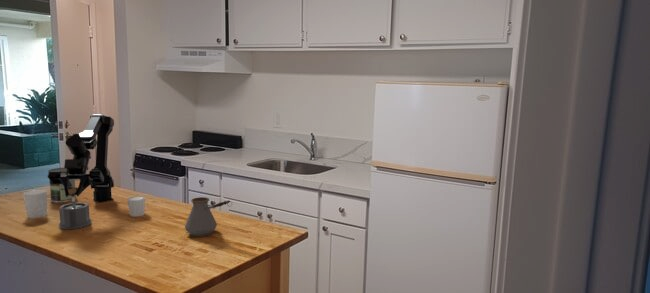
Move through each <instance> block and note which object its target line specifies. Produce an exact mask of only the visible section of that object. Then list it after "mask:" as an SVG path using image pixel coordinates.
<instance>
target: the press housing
mask: <svg viewBox="0 0 650 293" xmlns="http://www.w3.org/2000/svg"><path fill="white" fill-rule="evenodd" d="M75 205H82V206H84V207H81V208H76V209H64V208H66V207H69V206H73V205H72V202H71V203H67V204H63V205H61V206H60V207H59V209H58V210H59V223H58V228H59V229H61V230H65V231H66V230H68V231H69V230H70V231H71V230H80V229H83V228H86V226H87V227H89V226H91V224H92V219H91V216H90V204H89V203H86V202H75Z"/></svg>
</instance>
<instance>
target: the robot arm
mask: <svg viewBox="0 0 650 293" xmlns="http://www.w3.org/2000/svg"><path fill="white" fill-rule="evenodd" d="M114 126H115V121H114V118H113V117H111V116H107V115H104V114H101V113H99V114H95V113H94V114H91V115H90V117H89V120H88V122H87V125H86V127H85V129H84V130H83V131H82V132H79V133H73V134H72V136H70V137H68V138H67V139H66V140H65V146H66V147H67V148H68V150H69V152H70V154H71V155H73V158H71V159H70V158H68V159H67V158H66V159H64V167H63V168H67V172H69V174H67V173H61V171H51V172H49V173H48V174H47V179H49V180H50V181H51V182H52V184H62V185H64V189H65V195H66V197H68V188H71V183H70V180H75V181H76V180H79V183H78V187H77V188H78V190H77V194H76V197H79V196H80V195H81V194H82V193H83V192H84V191H85V190H86V189H87V188H88V187H89V186H90V188H91V190H93V200H92V201H95V202H97V203H105V202H110V201H114V198H112V188H114V187H115V182H114V181H115V180H114V179H113V177H112V175H111V171H110V169H109V168H108V153H109V152H108V150H109V136H110V134H111V133H112V132H113V129H114V128H113V127H114ZM95 148H96V149H95ZM90 150H96V151H95V166H94V167H93V168H91V170H89V162H90V160H91V159H92V156H91V151H90ZM88 170H89V171H88ZM87 171H88V172H89V173H87Z"/></svg>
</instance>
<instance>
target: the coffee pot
mask: <svg viewBox="0 0 650 293" xmlns="http://www.w3.org/2000/svg"><path fill="white" fill-rule="evenodd" d="M190 201H191V203H192V208H191V211H190V212H189V215H188V217H187V220H186V222H185V224H184V229H185V230H186V232H188V234H190V235H191V236H193V237H206V236H209V235H211V234H212V233H213V232H214V231H215V230H216V228H217V225H218V223H217V221H216V219H215V217H214V215H213V213H212V210H211V209H213V208H214V209H215V208H218V207H222V206H225V205H227V206H229V203H231V205H230V207H231V206H233V202H232V201H231V200H224V201H223V202H222V201H221V202H219V203H215V204H213V205H208V204H209V201H210V198H209V197H201V196H200V197H194V198H192V199H191V200H190Z"/></svg>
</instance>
